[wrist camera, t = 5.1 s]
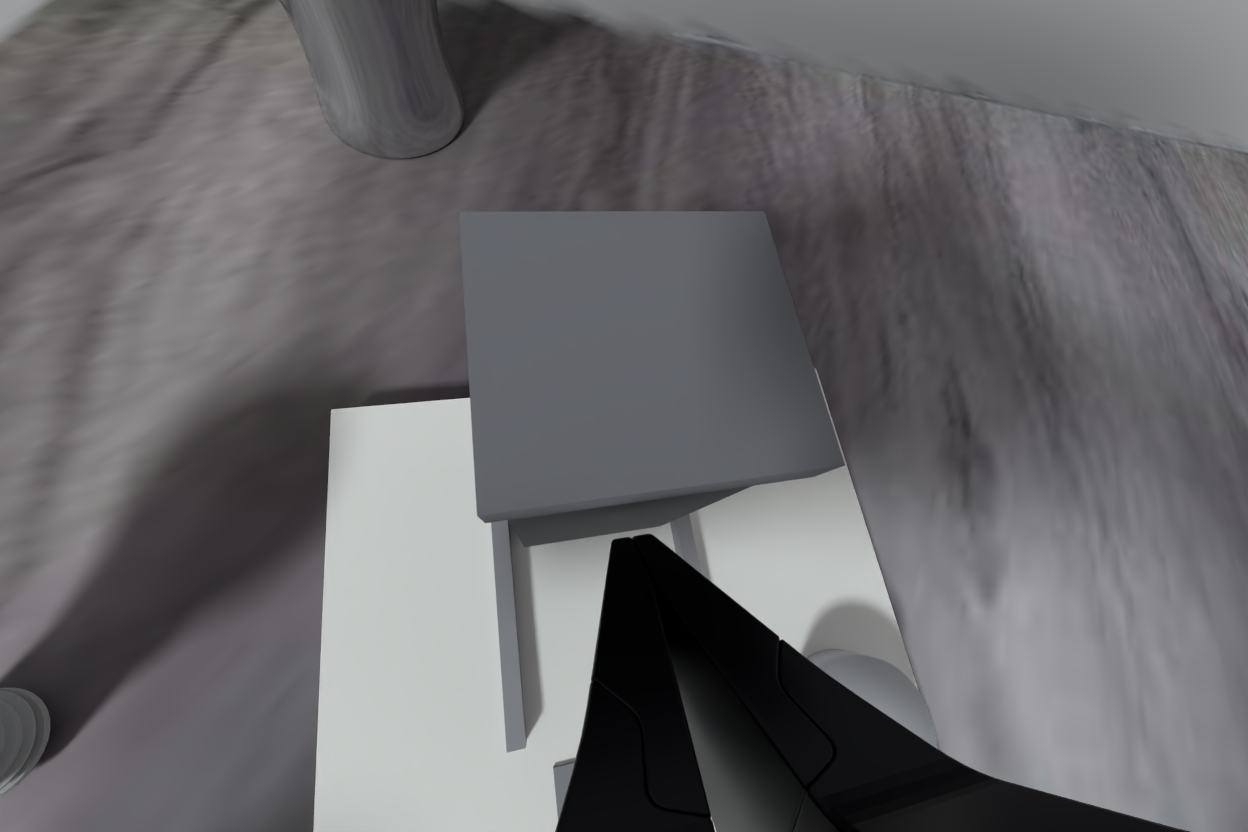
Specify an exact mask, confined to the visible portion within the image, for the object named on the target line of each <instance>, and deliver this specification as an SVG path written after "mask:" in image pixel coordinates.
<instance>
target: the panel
mask: <svg viewBox="0 0 1248 832" xmlns="http://www.w3.org/2000/svg"><path fill="white" fill-rule="evenodd" d="M815 372H816V375H817V378H818V381H819V384H820V387H821V391H822V394H823V397H824V400H825V403H826V406H827V410H828V413H829V416H830V419H831V422H832V425H833V428H834V432H835V435H836V438H837V441H838V444H839V447H840V450H841V454H842V457H843V460H844V463H845V466H842V467H839V468H836V469H834V470H831V471H828V472H826V473H823V474H820V475H818V476H815V477H811V478H804V479H796V480H789V481H782V482H775V483H768V484H761V485H754V486H751V487H749V488H747V489H745V490H742V491H740V492H738V493H735V494H733V495H731V496H729V497H726V498H724V499H722V500H719V501H717V502H715V503H713V504H710V505H708V506H706V507H703V508H701V509H699V510H697V511H694V512H692V513H690V514H687V515H685V516H683V517H681V518H678V519H676V520H674V521H671V522H669V523H667V524H665V525H662V526H659V527H653V528H646V529H640V530H633V531H627V532H621V533H614V534H608V535H601V536H595V537H588V538H582V539H575V540H569V541H562V542H556V543H549V544H543V545H536V546H530V547H524V546H523V544H522V542H521V541H520V539H519V537H518V536H517V534H516V532H515V531H514V529H513V528H512V526H511V524H510V523H509V521H508V520H505V521H498V522H491V523H484V522H483V521H482V520H481V519H480V518H479V517H478V516H477V508H476V491H475V474H474V457H473V440H472V423H471V406H470V398H461V399H449V400H437V401H425V402H413V403H401V404H389V405H378V406H366V407H354V408H342V409H331V425H330V449H329V473H328V496H327V520H326V544H325V568H324V592H323V615H322V639H321V663H320V687H319V711H318V734H317V758H316V782H315V806H314V829H313V832H555V830H556V827H557V823H558V820H559V816H560V813H561V809H562V806H563V802H564V799H565V795H566V792H567V788H568V785H569V781H570V778H571V774H572V770H573V766H574V762H575V758H576V754H577V750H578V746H579V742H580V739H581V734H582V728H583V723H584V718H585V712H586V707H587V701H588V694H589V687H590V683H591V675H592V669H593V662H594V655H595V648H596V642H597V635H598V628H599V621H600V615H601V608H602V601H603V595H604V588H605V581H606V574H607V568H608V561H609V554H610V547H611V542H612V540H613V539H617V538H624V537H630V538H633V537H634V536H636V535H643V534H652V535H654V536H655V537H656V538H658V539H659V540H660V541H661V542H663V543H664V544H665V545H666V546H668V547H669V548H670V549H671V550H673V551H674V552H675V553H676V554H678V555H679V556H680V557H681V558H682V559H684V560H685V561H686V562H687V563H689V564H690V565H691V566H692V567H694V568H695V569H696V570H697V571H699V572H700V573H701V574H702V575H704V576H705V577H706V578H707V579H709V580H710V581H711V582H712V583H714V584H715V585H716V586H717V587H718V588H720V589H721V590H722V591H723V592H725V593H726V594H727V595H728V596H730V597H731V598H732V599H733V600H735V601H736V602H737V603H738V604H740V605H741V606H742V607H743V608H745V609H746V610H747V611H748V612H749V613H751V614H752V615H753V616H754V617H756V618H757V619H758V620H759V621H761V622H762V623H763V624H764V625H766V626H767V627H768V628H769V629H771V630H772V631H773V632H774V633H776V634H777V635H778V636H779V638H780V640H781V639H783V640H784V641H786V642H787V643H788V644H789V645H791V646H792V647H793V648H794V649H796V650H797V651H798V652H799V653H801V654H802V655H803V656H805V657H806V658H807V659H808V660H810V661H811V662H812V663H814V664H815V665H816V666H818V667H819V668H820V669H821V670H823V671H824V672H825V673H827V674H828V675H830V676H831V677H832V678H834V679H835V680H837V681H838V682H839V683H841V684H842V685H844V686H845V687H847V688H848V689H849V690H851V691H852V692H854V693H855V694H857V695H858V696H859V697H861V698H862V699H864V700H865V701H867V702H868V703H870V704H871V705H873V706H874V707H876V708H877V709H879V710H880V711H882V712H883V713H885V714H886V715H888V716H889V717H891V718H892V719H894V720H895V721H897V722H898V723H899V724H901V725H902V726H904V727H905V728H907V729H908V730H910V731H911V732H913V733H914V734H916V735H917V736H919V737H920V738H922V739H923V740H925V741H926V742H928V743H929V744H931V745H932V746H934V747H935V748H937V738H936V732H935V727H934V723H933V720H932V717H931V714H930V711H929V709H928V706H927V704H926V702H925V700H924V698H923V697H922V695H921V693H920V692H919V690H918V687H917V684H916V681H915V677H914V674H913V671H912V668H911V665H910V662H909V659H908V656H907V652H906V649H905V646H904V643H903V640H902V637H901V634H900V630H899V627H898V624H897V621H896V618H895V615H894V612H893V608H892V605H891V602H890V599H889V596H888V593H887V590H886V586H885V583H884V580H883V577H882V574H881V571H880V568H879V565H878V561H877V558H876V555H875V552H874V549H873V546H872V543H871V539H870V536H869V533H868V530H867V527H866V524H865V521H864V517H863V514H862V511H861V508H860V505H859V502H858V499H857V495H856V492H855V489H854V486H853V483H852V480H851V477H850V474H849V470H848V467H847V464H846V461H845V458H844V455H843V452H842V448H841V445H840V442H839V439H838V436H837V433H836V430H835V426H834V423H833V420H832V417H831V414H830V411H829V408H828V404H827V401H826V398H825V395H824V392H823V389H822V386H821V383H820V379H819V376H818V373H817V370H816V369H815ZM711 820H712V818H711ZM712 822H713V821H712ZM713 825H714V823H713ZM714 829H715V826H714ZM715 832H717V831H716V829H715Z"/></svg>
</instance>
